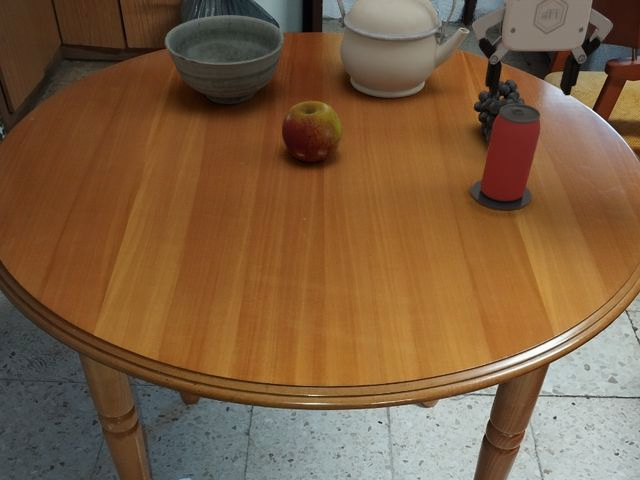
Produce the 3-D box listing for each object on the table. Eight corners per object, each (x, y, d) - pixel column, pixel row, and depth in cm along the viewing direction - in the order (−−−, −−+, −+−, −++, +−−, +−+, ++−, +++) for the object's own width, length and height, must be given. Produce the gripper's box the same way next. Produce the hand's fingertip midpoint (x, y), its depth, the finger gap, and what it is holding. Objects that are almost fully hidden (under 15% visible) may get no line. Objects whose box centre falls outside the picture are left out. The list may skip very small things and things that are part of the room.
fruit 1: (271, 160, 108) (269, 110, 103) (299, 137, 114) (298, 88, 108) (324, 175, 106) (325, 124, 100) (350, 151, 111) (352, 101, 105)
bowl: (280, 69, 133) (278, 13, 126) (291, 116, 119) (289, 55, 112) (173, 74, 131) (165, 16, 124) (172, 122, 117) (163, 60, 110)
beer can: (513, 179, 104) (532, 100, 96) (531, 201, 100) (552, 120, 91) (473, 183, 103) (488, 103, 95) (489, 206, 99) (507, 124, 90)
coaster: (525, 180, 105) (525, 178, 105) (535, 211, 99) (536, 208, 99) (467, 179, 105) (467, 176, 105) (474, 210, 99) (475, 207, 99)
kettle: (316, 91, 126) (317, -70, 108) (350, 57, 138) (357, -94, 119) (446, 115, 120) (470, -52, 102) (470, 77, 132) (497, -79, 113)
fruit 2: (533, 107, 101) (519, 66, 111) (477, 123, 104) (469, 81, 113) (537, 160, 108) (524, 116, 117) (485, 173, 110) (476, 129, 120)
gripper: (489, -52, 76) (467, 104, 89) (645, -54, 75) (600, 103, 88) (480, -69, 81) (460, 81, 94) (626, -71, 80) (586, 80, 93)
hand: (528, 91), depth 91 cm, fingers open, 9 cm apart
